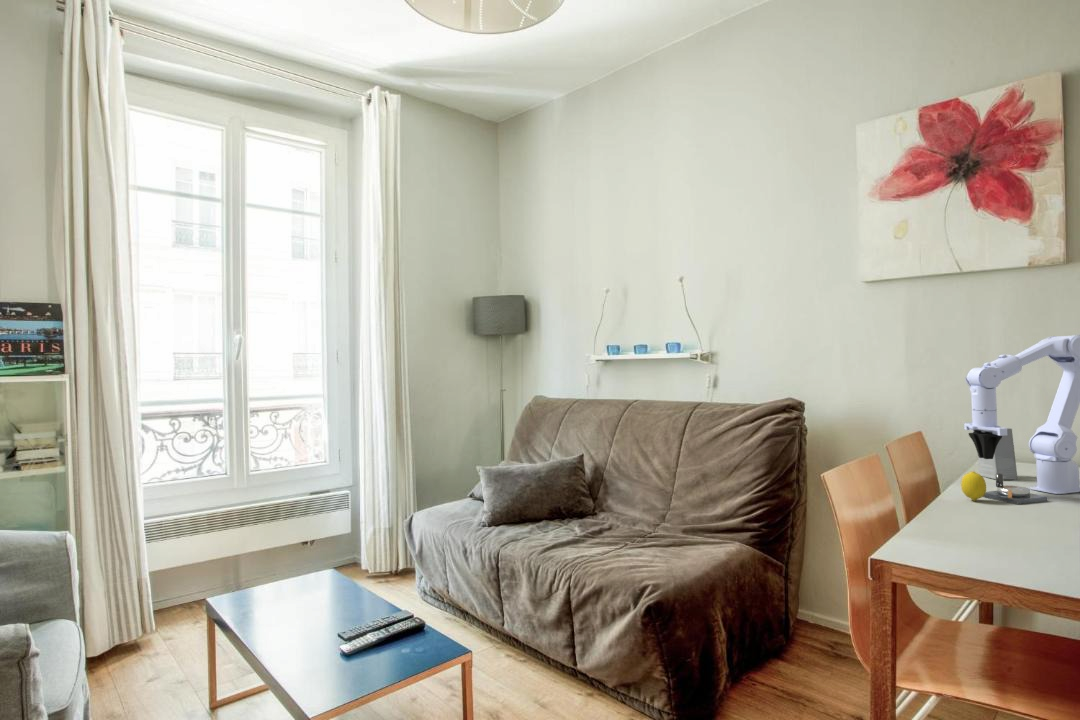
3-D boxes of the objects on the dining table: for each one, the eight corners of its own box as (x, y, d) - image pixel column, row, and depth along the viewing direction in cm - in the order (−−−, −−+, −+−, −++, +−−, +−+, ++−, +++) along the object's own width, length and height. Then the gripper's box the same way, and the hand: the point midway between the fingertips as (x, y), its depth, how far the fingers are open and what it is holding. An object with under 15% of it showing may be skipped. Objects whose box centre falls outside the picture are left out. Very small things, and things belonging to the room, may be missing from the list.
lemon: (978, 498, 167) (977, 469, 167) (991, 503, 162) (990, 473, 162) (957, 498, 168) (956, 469, 168) (969, 503, 162) (968, 473, 162)
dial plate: (1010, 493, 172) (1009, 482, 172) (1047, 501, 162) (1046, 489, 162) (981, 496, 169) (981, 485, 169) (1017, 504, 159) (1017, 493, 160)
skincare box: (1018, 480, 188) (1016, 428, 188) (994, 480, 189) (992, 429, 189) (998, 474, 197) (996, 425, 197) (975, 475, 197) (974, 426, 197)
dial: (1011, 490, 170) (1010, 472, 170) (1036, 495, 163) (1036, 476, 163) (990, 492, 168) (990, 474, 168) (1016, 497, 161) (1015, 478, 161)
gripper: (953, 408, 180) (954, 454, 180) (987, 412, 166) (989, 463, 166) (977, 407, 180) (979, 453, 180) (1014, 411, 165) (1016, 462, 165)
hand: (985, 458), depth 173 cm, fingers closed
